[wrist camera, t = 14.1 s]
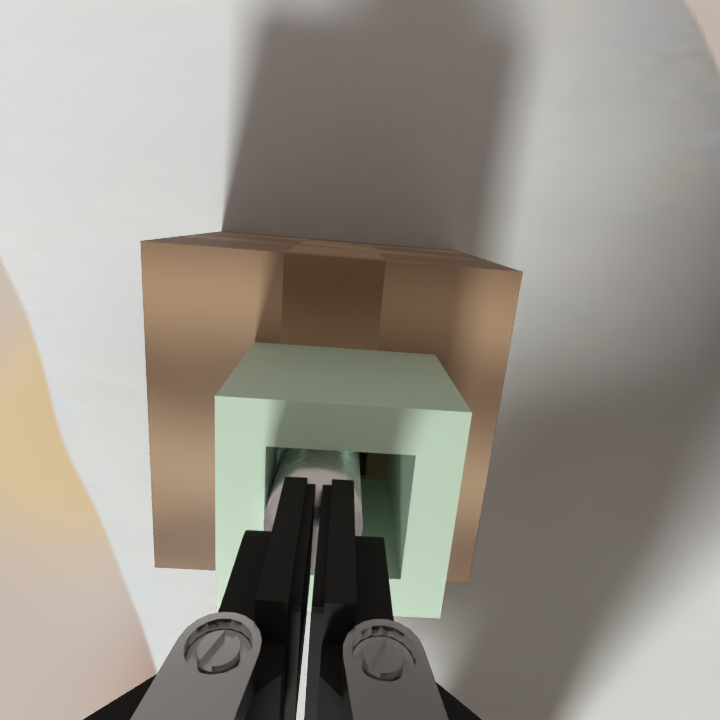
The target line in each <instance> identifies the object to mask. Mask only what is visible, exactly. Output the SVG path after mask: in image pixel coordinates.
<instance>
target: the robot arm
mask: <svg viewBox="0 0 720 720" xmlns="http://www.w3.org/2000/svg"><path fill="white" fill-rule="evenodd" d="M307 481H308V479H307V478H305V477H288V476H285V478H284V483H283V487H282V491H281V495H280V499H279V503H278V507H277V511H276V516H275V520H274V524H273V528H272V531H258V530H246V531H245V533H244V535H243V538H242V541H241V544H240V547H239V550H238V553H237V556H236V559H235V563H234V566H233V569H232V572H231V575H230V578H229V581H228V584H227V587H226V590H225V593H224V596H223V599H222V602H221V605H220V608H219V611H218V613H214V614H209V615H207V616H205V617H202V618H200V619H198V620H196V621H195V622H194V623H192V624H191V625H190V626H188V627H187V628H186V629H185V630H184V632H183V633H182V634H181V635H180V637H179V638H178V640H177V641H176V643H175V645H174V646H173V648H172V650H171V651H170V653H169V655H168V656H167V658H166V660H165V662H164V663H163V665H162V667H161V668H160V670H159V672H158V673H157V674H156V675H155V676H153V677H151V678H150V679H148V680H146V681H145V682H143V683H142V684H140V685H138V686H137V687H135V688H134V689H132V690H130V691H129V692H127V693H125V694H124V695H122V696H121V697H119V698H118V699H116V700H114V701H112V702H111V703H109V704H108V705H106V706H104V707H103V708H101V709H100V710H98V711H96V712H95V713H93V714H91V715H90V716H88V717H87V718H85V719H84V720H296V712H297V702H298V693H299V683H300V673H301V664H302V654H303V644H304V635H305V625H306V615H307V606H308V596H309V585H310V571H311V554H312V538H313V522H314V506H315V489H316V484H307ZM304 720H481V719H480V718H479V717H478V716H477V715H475V714H474V713H473V712H472V711H470V710H469V709H468V708H467V707H466V706H464V705H463V704H462V703H461V702H459V701H458V700H457V699H456V698H455V697H453V696H452V695H451V694H450V693H449V692H447V691H446V690H445V689H444V688H442V687H441V686H440V685H439V684H438V683H436V682H435V679H434V676H433V673H432V670H431V667H430V665H429V662H428V659H427V656H426V653H425V650H424V648H423V646H422V644H421V642H420V640H419V638H418V637H417V636H416V635H415V634H414V633H413V632H412V631H411V630H410V629H408V628H407V627H405V626H403V625H402V624H400V623H397V622H394V619H393V611H392V602H391V593H390V584H389V576H388V567H387V558H386V550H385V542H384V538H383V537H371V536H355V504H354V480H339V479H332V485H323V487H322V498H321V509H320V520H319V530H318V541H317V552H316V563H315V574H314V584H313V596H312V608H311V623H310V639H309V654H308V670H307V686H306V702H305V717H304Z"/></svg>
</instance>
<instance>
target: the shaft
mask: <svg viewBox="0 0 720 720" xmlns="http://www.w3.org/2000/svg"><path fill="white" fill-rule="evenodd" d="M285 476H288V477H305V478H307V479H308V481H307V484H316V489H315V506H314V522H313V538H312V554H311V567H315V563H316V552H317V541H318V530H319V520H320V509H321V498H322V487H323V485H332V479H339V480H354V504H355V536H361V535H362V530H363V518H362V498H361V478H360V458H359V452H351V451H334V450H318V449H301V448H284V447H283V451H282V454H281V458H280V462H279V465H278V469H277V473H276V476H275V480H274V483H273V487H272V491H271V494H270V498H269V502H268V505H267V509H266V512H265V516H264V531H272V528H273V524H274V520H275V516H276V511H277V507H278V503H279V499H280V495H281V491H282V487H283V483H284V478H285Z"/></svg>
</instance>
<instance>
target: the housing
mask: <svg viewBox="0 0 720 720" xmlns="http://www.w3.org/2000/svg"><path fill="white" fill-rule="evenodd" d="M141 264H142V286H143V309H144V331H145V354H146V376H147V399H148V421H149V444H150V466H151V489H152V511H153V534H154V556H155V567H158V568H179V569H199V570H216V563H215V395H216V393H217V392H218V391H219V389H220V388H221V387H222V385H223V384H224V383H225V381H226V380H227V378H228V377H229V376H230V374H231V373H232V372H233V370H234V369H235V368H236V366H237V365H238V364H239V362H240V361H241V360H242V358H243V357H244V356H245V354H246V353H247V351H248V350H249V349H250V347H251V346H252V345H253V343H254V342H261V343H276V344H290V345H304V346H319V347H333V348H347V349H361V350H376V351H390V352H404V353H419V354H433V355H436V357H437V358H438V360H439V361H440V363H441V364H442V366H443V368H444V369H445V371H446V372H447V374H448V375H449V377H450V379H451V380H452V382H453V383H454V385H455V386H456V388H457V389H458V391H459V393H460V394H461V396H462V397H463V399H464V400H465V402H466V404H467V405H468V407H469V408H470V410H471V411H472V417H471V423H470V430H469V436H468V443H467V449H466V456H465V462H464V468H463V475H462V481H461V488H460V494H459V501H458V507H457V514H456V520H455V526H454V533H453V539H452V546H451V552H450V559H449V565H448V572H447V578H446V582H460V583H469V579H470V573H471V567H472V561H473V556H474V550H475V544H476V538H477V532H478V527H479V521H480V515H481V509H482V504H483V498H484V492H485V486H486V481H487V475H488V469H489V463H490V457H491V452H492V446H493V440H494V434H495V429H496V423H497V417H498V411H499V406H500V400H501V394H502V388H503V382H504V377H505V371H506V365H507V359H508V354H509V348H510V342H511V336H512V331H513V325H514V319H515V313H516V307H517V302H518V296H519V290H520V284H521V279H522V273H523V272H521V271H518V270H515V269H512V268H509V267H506V266H502V265H499V264H496V263H493V262H490V261H486V260H483V259H480V258H477V257H474V256H471V255H467V254H464V253H461V252H458V251H452V250H440V249H428V248H415V247H403V246H391V245H379V244H367V243H354V242H342V241H330V240H318V239H306V238H294V237H281V236H269V235H257V234H245V233H233V232H213V233H205V234H196V235H188V236H179V237H171V238H162V239H154V240H146V241H141ZM388 457H389V454H384V453H368V452H359V458H360V478H361V479H375V480H386V476H387V467H388Z"/></svg>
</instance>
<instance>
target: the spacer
mask: <svg viewBox="0 0 720 720" xmlns="http://www.w3.org/2000/svg"><path fill="white" fill-rule="evenodd" d="M471 417H472V411H471V410H470V408H469V407H468V405H467V404H466V402H465V400H464V399H463V397H462V396H461V394H460V393H459V391H458V389H457V388H456V386H455V385H454V383H453V382H452V380H451V379H450V377H449V375H448V374H447V372H446V371H445V369H444V368H443V366H442V364H441V363H440V361H439V360H438V358H437V357H436V355H433V354H419V353H404V352H390V351H376V350H361V349H347V348H333V347H319V346H304V345H290V344H276V343H261V342H254V343H253V345H252V346H251V347H250V349H249V350H248V351H247V353H246V354H245V356H244V357H243V358H242V360H241V361H240V362H239V364H238V365H237V366H236V368H235V369H234V370H233V372H232V373H231V374H230V376H229V377H228V378H227V380H226V381H225V383H224V384H223V385H222V387H221V388H220V389H219V391H218V392H217V393H216V395H215V563H216V608H220V605H221V602H222V599H223V596H224V593H225V590H226V587H227V584H228V581H229V578H230V575H231V572H232V569H233V566H234V563H235V559H236V556H237V553H238V550H239V547H240V544H241V541H242V538H243V535H244V533H245V531H246V530H258V531H264V516H265V512H266V509H267V505H268V502H269V498H270V494H271V491H272V487H273V483H274V480H275V476H276V473H277V469H278V465H279V462H280V458H281V454H282V451H283V447H284V448H301V449H318V450H334V451H351V452H368V453H384V454H389V457H388V467H387V476H386V480H375V479H361V498H362V518H363V530H362V535H361V536H371V537H383V538H384V542H385V550H386V558H387V567H388V576H389V584H390V593H391V602H392V611H393V616H398V617H421V618H440V617H441V610H442V604H443V597H444V591H445V584H446V578H447V572H448V565H449V559H450V552H451V546H452V539H453V533H454V526H455V520H456V514H457V507H458V501H459V494H460V488H461V481H462V475H463V468H464V462H465V456H466V449H467V443H468V436H469V430H470V423H471ZM314 574H315V567H311V571H310V585H309V596H308V606H307V612H308V613H311V608H312V596H313V584H314Z"/></svg>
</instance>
